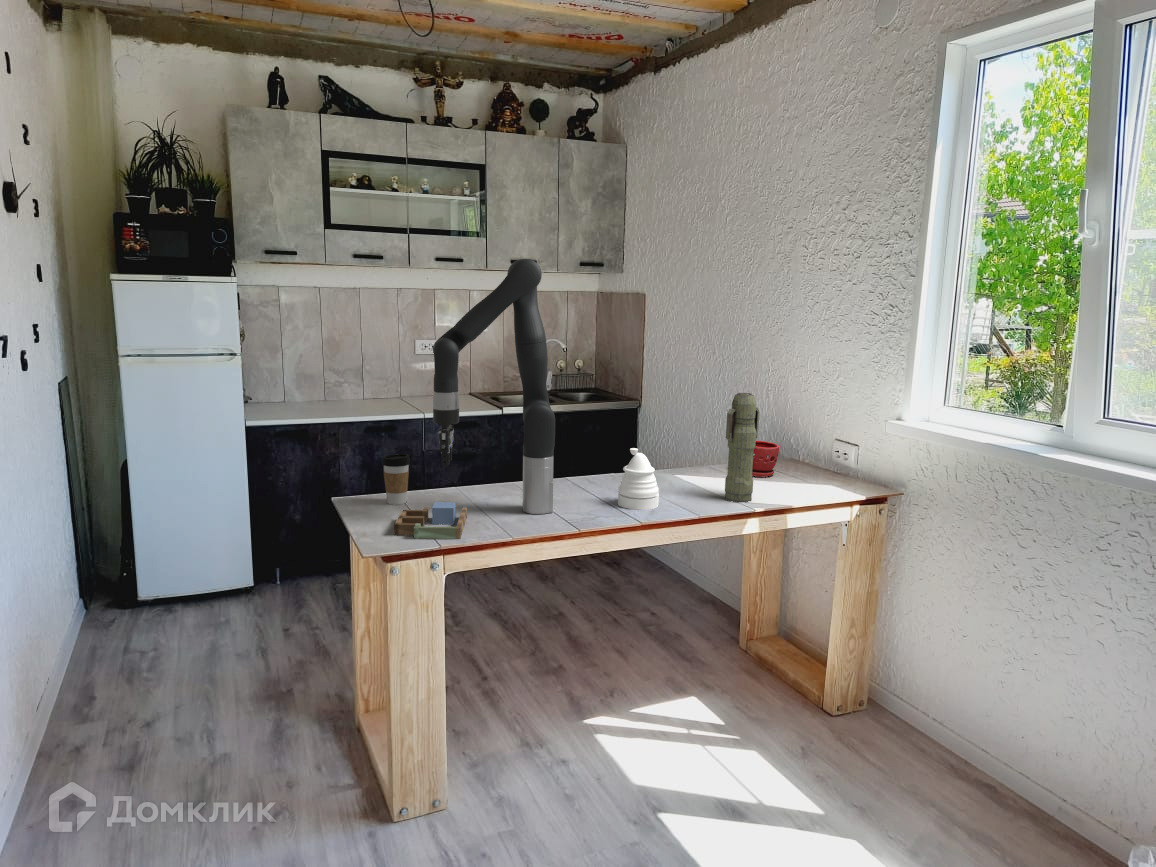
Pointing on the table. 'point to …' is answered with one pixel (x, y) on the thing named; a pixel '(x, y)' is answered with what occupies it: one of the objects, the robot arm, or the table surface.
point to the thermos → (741, 447)
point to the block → (444, 513)
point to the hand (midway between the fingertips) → (446, 463)
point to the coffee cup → (396, 477)
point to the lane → (414, 525)
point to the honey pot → (638, 484)
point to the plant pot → (764, 458)
